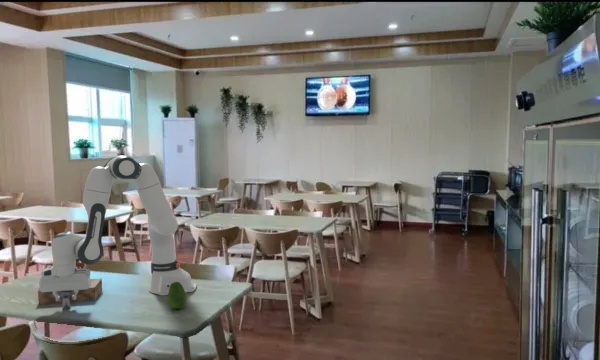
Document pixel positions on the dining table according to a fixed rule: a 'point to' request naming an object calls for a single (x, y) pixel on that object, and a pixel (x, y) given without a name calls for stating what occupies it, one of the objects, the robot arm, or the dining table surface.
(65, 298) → the steel pin
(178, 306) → the avocado
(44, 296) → the hitch block
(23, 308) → the dining table surface
